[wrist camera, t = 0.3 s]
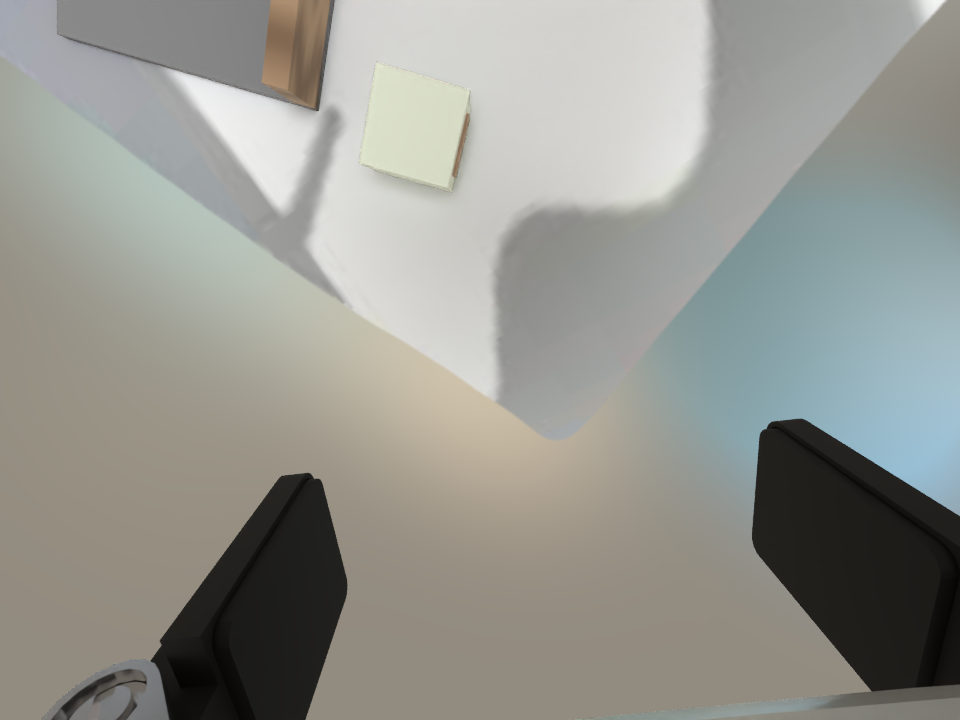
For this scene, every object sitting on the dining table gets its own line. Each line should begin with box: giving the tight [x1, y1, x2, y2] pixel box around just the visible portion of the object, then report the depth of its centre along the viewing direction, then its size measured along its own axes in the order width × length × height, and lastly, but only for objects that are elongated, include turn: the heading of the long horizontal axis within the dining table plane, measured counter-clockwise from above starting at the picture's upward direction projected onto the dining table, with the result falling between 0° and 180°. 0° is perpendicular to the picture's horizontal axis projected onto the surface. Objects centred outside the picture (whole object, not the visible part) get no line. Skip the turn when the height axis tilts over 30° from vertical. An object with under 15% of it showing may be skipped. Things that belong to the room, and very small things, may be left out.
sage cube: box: [359, 62, 471, 192], centre depth 32 cm, size 6×6×6 cm
